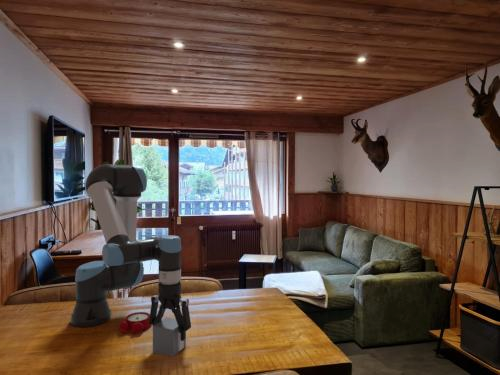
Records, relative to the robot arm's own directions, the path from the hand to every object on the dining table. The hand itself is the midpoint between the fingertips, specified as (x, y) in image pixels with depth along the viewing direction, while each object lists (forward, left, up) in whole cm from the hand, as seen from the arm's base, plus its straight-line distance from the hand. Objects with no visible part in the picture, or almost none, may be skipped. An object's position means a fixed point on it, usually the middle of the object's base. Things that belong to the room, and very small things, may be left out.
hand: (169, 346), depth 116 cm
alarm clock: (-22, +10, -1) cm, 24 cm away
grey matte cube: (0, 0, -1) cm, 1 cm away
